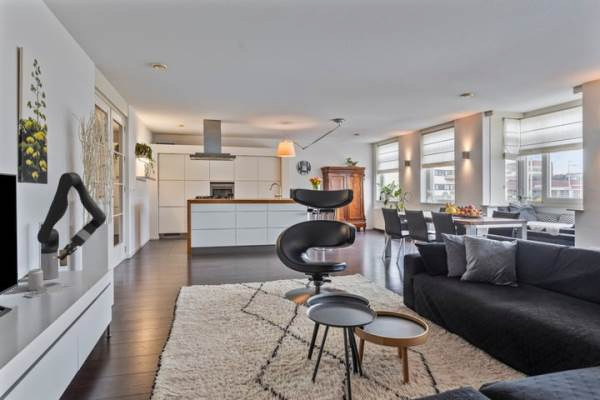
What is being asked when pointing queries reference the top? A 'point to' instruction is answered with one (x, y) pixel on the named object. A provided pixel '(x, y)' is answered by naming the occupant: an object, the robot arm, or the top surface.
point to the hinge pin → (64, 262)
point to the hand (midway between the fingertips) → (59, 259)
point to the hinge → (49, 289)
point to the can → (35, 279)
